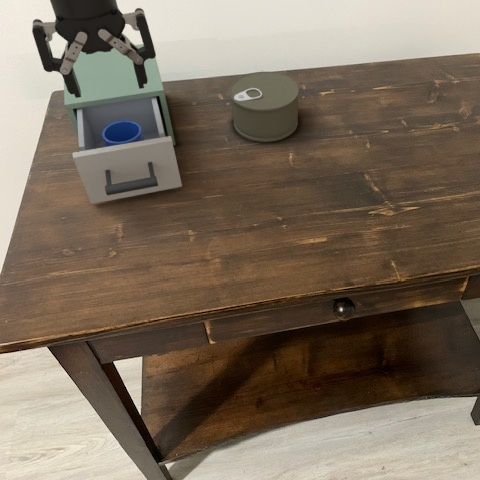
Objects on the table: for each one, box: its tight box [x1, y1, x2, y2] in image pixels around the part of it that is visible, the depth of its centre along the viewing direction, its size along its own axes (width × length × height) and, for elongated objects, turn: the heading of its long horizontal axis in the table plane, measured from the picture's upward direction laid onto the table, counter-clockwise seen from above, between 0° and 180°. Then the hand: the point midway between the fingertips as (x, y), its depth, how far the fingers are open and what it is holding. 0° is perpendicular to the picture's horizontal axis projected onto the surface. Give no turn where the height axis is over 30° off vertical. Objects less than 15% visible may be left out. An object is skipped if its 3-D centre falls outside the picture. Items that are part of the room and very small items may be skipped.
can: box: [228, 71, 300, 143], centre depth 94 cm, size 12×12×7 cm
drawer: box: [72, 96, 183, 205], centre depth 81 cm, size 20×14×9 cm
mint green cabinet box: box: [63, 43, 176, 146], centre depth 91 cm, size 16×15×11 cm
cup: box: [102, 121, 144, 147], centre depth 83 cm, size 6×6×6 cm
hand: (110, 90), depth 75 cm, fingers open, 8 cm apart
